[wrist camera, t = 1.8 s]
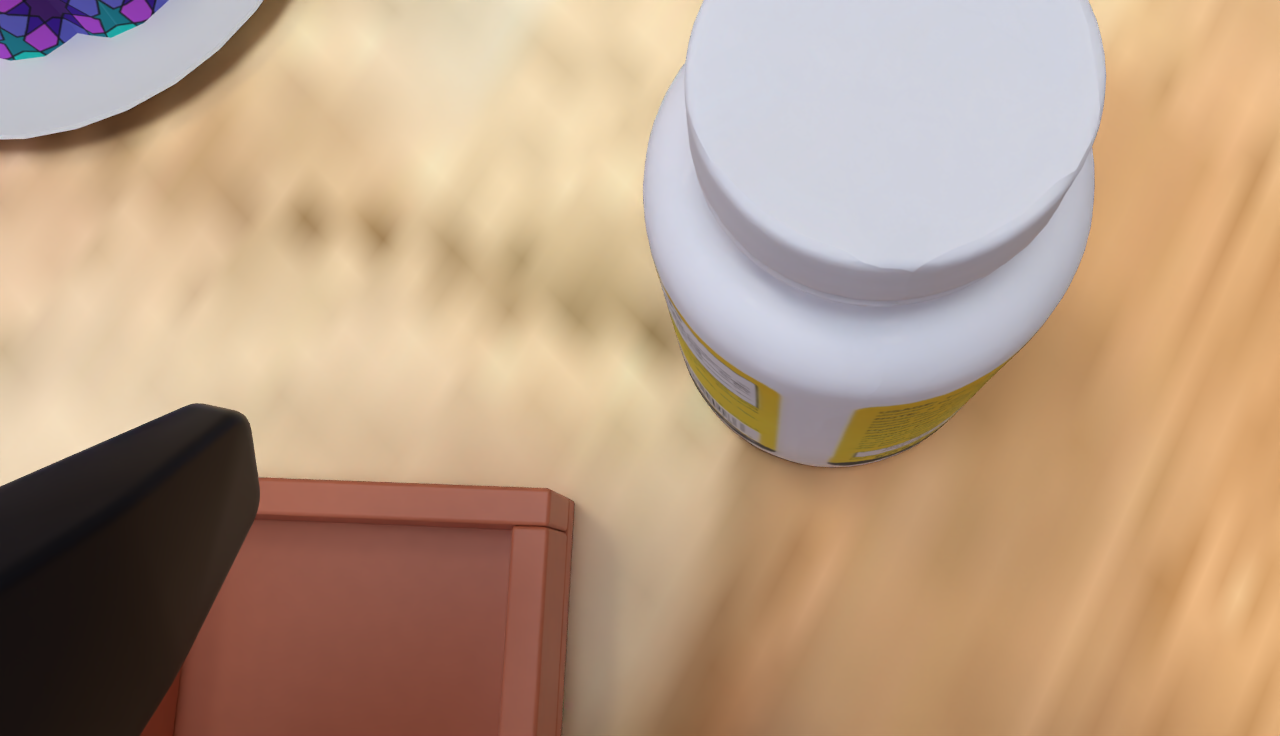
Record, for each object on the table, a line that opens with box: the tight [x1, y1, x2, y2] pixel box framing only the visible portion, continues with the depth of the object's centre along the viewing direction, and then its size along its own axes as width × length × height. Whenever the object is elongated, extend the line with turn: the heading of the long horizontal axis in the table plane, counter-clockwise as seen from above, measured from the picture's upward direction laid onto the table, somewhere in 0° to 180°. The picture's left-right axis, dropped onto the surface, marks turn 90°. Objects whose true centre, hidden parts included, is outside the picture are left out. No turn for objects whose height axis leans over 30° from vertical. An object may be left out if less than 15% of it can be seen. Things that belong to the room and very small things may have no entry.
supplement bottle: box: [643, 0, 1106, 467], centre depth 15 cm, size 5×5×10 cm
